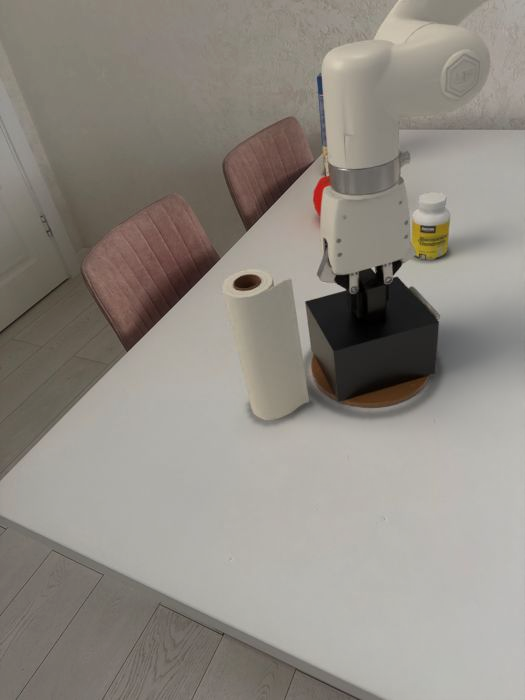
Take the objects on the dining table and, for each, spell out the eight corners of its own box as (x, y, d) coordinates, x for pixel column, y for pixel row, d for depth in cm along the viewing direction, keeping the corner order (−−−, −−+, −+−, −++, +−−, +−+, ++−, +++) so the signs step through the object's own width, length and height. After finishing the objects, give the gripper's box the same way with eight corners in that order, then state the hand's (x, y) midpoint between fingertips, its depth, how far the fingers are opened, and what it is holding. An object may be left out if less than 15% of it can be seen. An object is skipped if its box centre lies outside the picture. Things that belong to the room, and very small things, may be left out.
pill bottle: (408, 263, 94) (410, 205, 87) (413, 246, 98) (415, 189, 91) (444, 265, 91) (449, 205, 84) (448, 247, 96) (453, 189, 88)
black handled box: (398, 318, 80) (400, 231, 70) (454, 387, 67) (465, 292, 57) (297, 346, 79) (285, 262, 69) (334, 422, 65) (325, 331, 56)
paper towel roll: (243, 414, 71) (210, 287, 57) (270, 388, 74) (244, 263, 60) (283, 435, 67) (257, 304, 53) (309, 406, 70) (291, 276, 56)
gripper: (415, 146, 58) (411, 279, 70) (284, 180, 57) (301, 310, 69) (449, 165, 53) (438, 307, 64) (304, 203, 51) (319, 341, 63)
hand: (367, 308), depth 66 cm, fingers closed on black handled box, 2 cm apart
